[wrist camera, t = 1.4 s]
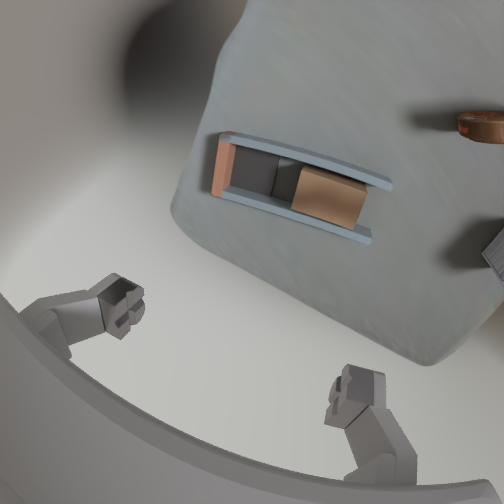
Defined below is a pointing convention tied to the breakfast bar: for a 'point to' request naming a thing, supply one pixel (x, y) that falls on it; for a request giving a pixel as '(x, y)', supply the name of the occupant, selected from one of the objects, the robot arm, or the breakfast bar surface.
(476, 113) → the tin
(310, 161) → the trap channel
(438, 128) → the breakfast bar surface
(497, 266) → the medicine box
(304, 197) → the tan block
